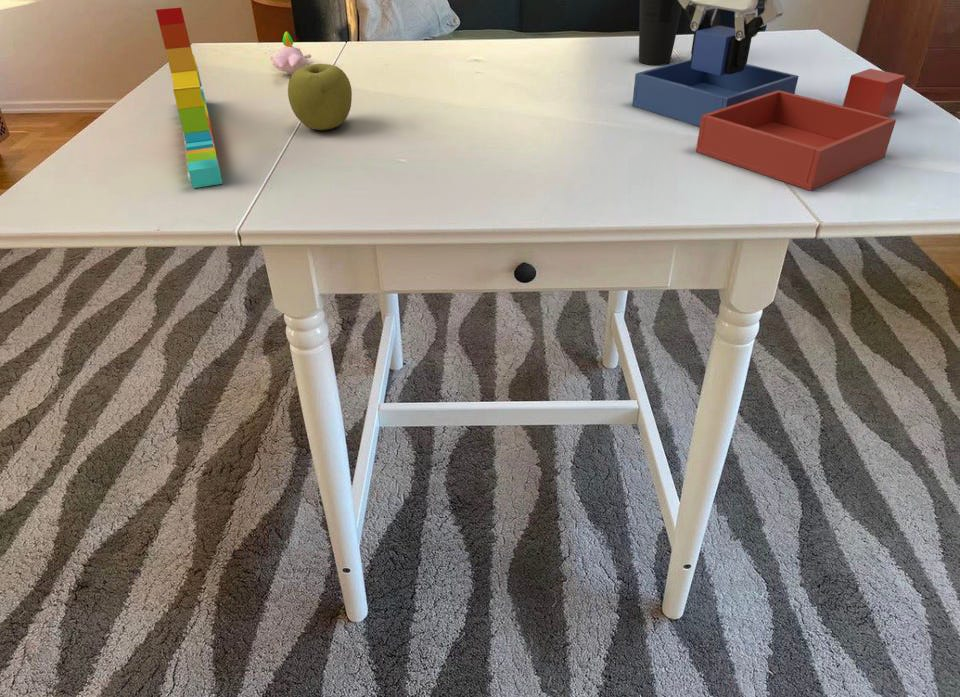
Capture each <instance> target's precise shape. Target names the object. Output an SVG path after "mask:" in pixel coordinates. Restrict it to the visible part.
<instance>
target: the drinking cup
mask: <svg viewBox="0 0 960 697" xmlns="http://www.w3.org/2000/svg"><path fill="white" fill-rule="evenodd" d="M682 9H683V7H682V5H681V4H680V3H679V1H678V0H639V22H638V23H639V24H638V25H639V29H638V30H639V31H638V33H639V34H638V62H639V63H641V64H644V65H648V66H649V65H650V66H665V65H669V64H671V60H672V57H673V56H672V55H673V50H674V45H675V43H676V42H675V41H676V37H677V32H678V28H679V23H680V19H681V14H682Z"/></svg>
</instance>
